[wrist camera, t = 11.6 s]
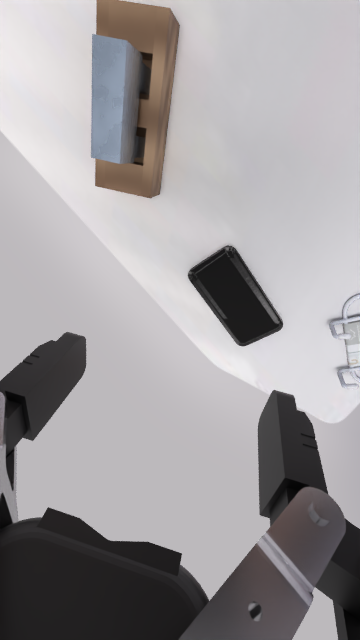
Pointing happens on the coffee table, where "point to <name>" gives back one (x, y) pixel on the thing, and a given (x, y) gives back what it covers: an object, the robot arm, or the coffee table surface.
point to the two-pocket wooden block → (153, 111)
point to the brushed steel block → (117, 99)
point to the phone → (235, 297)
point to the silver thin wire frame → (349, 343)
